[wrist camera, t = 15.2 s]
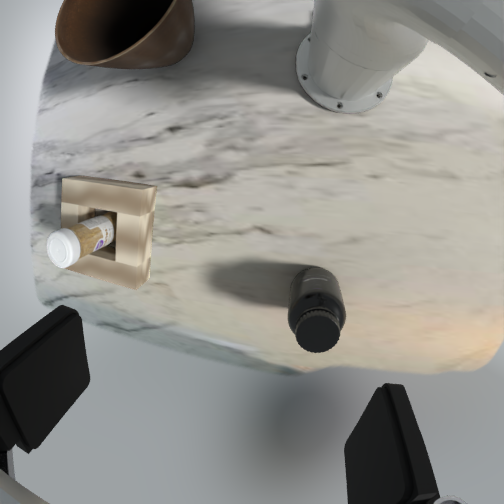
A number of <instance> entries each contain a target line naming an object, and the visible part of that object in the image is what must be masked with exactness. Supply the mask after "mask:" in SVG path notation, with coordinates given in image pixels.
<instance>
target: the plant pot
mask: <svg viewBox="0 0 504 504" xmlns="http://www.w3.org/2000/svg"><path fill="white" fill-rule="evenodd" d="M55 27H56V28H55V38H56V43H57V46H58V49H59V50H60V52H61V53H62V55H63V56H64V57H65V58H66V59H68V60H69V61H71V62H73V63H76V64H81V65H90V66H98V67H106V68H118V69H149V68H158V67H164V66H169V65H172V64H175V63H177V62H179V61H180V60H182V59H183V58H184V57H185V56H186V55H187V54H188V52H189V51H190V49H191V47H192V44H193V39H194V27H195V25H194V10H193V4H192V0H64V1H63V3H62V6H61V8H60V11H59V13H58V16H57V21H56V26H55Z"/></svg>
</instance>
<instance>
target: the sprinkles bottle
mask: <svg viewBox="0 0 504 504" xmlns="http://www.w3.org/2000/svg"><path fill="white" fill-rule="evenodd" d="M116 230H117V213H116V212H112V211H111V212H107V213H106V214H104V215H101V216H97V217H94V218H91V219H88V220H86V221H83V222H80V223H78V224H75V225H74V226H71V227H68V228H62V229H59V230H57V231H54V232H52V233H51V234H50V235H49V237H48V239H47V245H46V246H47V253H48V256H49V258H50V260H51V261H52V262H53V263H54V264H55V265H56V266H57V267H60V268H66V267H69V266H71V265H73V264H74V263H76V262H77V261H78V259H80V258H82V257H84V256H86V255H88V254H90V253H92V252H94V251H96V250H98V249H100V248H102V247H104V246H106V245H108V244H109V243H111V242H113V241H116Z"/></svg>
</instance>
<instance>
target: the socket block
mask: <svg viewBox="0 0 504 504" xmlns="http://www.w3.org/2000/svg"><path fill="white" fill-rule="evenodd" d="M156 190H157V186H153V185H146V184H139V183H133V182H126V181H119V180H111V179H104V178H96V177H88V176H74V177H68V178H62V199H61V229H62V228H68V227H71V226H74V225H75V224H78V223H80V222H83V221H86V220H88V219H91V218H94V217H95V208H97V209H102V210H107V211H113V212H117V230H116V248H112V247H108V246H104V247H102V248H100V249H98V250H96V251H94V252H92V253H90V254H88V255H86V256H84V257H82V258H80V259H78V261H77V262H76V263H74V264H73V265H71V266H69V267H66V268H65V269H68V270H71V271H74V272H78V273H81V274H84V275H87V276H90V277H94V278H97V279H100V280H103V281H107V282H110V283H114V284H117V285H120V286H124V287H127V288H131V289H134V290H137V289H138V288H139V287H140V286H141V285H143V284H144V283H145V282H146V281H147V280H148V279H149V278H150V261H151V245H152V232H153V220H154V209H155V200H156Z"/></svg>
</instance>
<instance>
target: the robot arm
mask: <svg viewBox="0 0 504 504" xmlns="http://www.w3.org/2000/svg"><path fill="white" fill-rule="evenodd" d="M428 40H430V41H432V42H433V43H435V44H438V45H439V46H441V47H442V48H444V49H445V50H447V51H448V52H450V53H451V54H453V55H454V56H455V57H457V58H458V59H460V60H461V61H462V62H464V63H465V64H466V65H468V66H469V67H470V68H471V69H473V70H474V71H475V72H477V73H478V74H479V75H480V76H482V77H483V78H484V79H485V80H486V81H488V82H489V83H490V84H491V85H492V86H494V87H495V88H496V89H497V90H498V91H499V92H501V93H502V94H503V95H504V0H314V10H313V20H312V30H311V33H310V34H309V35H307V36H306V38H305V39H304V40H303V41H302V42H301V44H300V46H299V48H298V51H297V54H296V64H295V65H296V73H297V76H298V80H299V82H300V84H301V86H302V87H303V89H304V90H305V92H306V93H307V94H308V95H309V96H310V97H311V98H312V99H313V100H314V101H315V102H317V103H318V104H320V105H321V106H323V107H325V108H327V109H329V110H332V111H335V112H339V113H346V114H354V113H361V112H365V111H368V110H370V109H372V108H374V107H375V106H377V105H378V104H380V103H381V102H382V101H383V100H384V99H385V98H386V96H387V94H388V93H389V91H390V88H391V86H392V81H393V76H395V75H396V74H397V73H398V72H400V71H401V70H402V69H403V68H405V67H406V66H407V65H408V64H410V63H411V62H412V61H413V60H414V59H416V58H417V57H418V56H419V55H420V54H421V53H422V51H423V50H424V49H425V47H426V45H427V43H428ZM309 41H310V42H309ZM303 77H306V78H307V80H303ZM376 95H379V98H378V97H377V96H376ZM337 105H340V106H341V107H340V108H338V107H337ZM89 382H90V374H89V368H88V362H87V356H86V349H85V342H84V334H83V326H82V319H81V317H80V316H79V313H78V312H77V311H76V310H75V309H72V308H69V307H67V306H64V305H60V306H58V307H57V308H56V309H54V310H53V311H52V312H50V313H49V314H48V315H46V316H45V317H43V318H42V319H41V320H39V321H38V322H37V323H36V324H34V325H33V326H31V327H30V328H29V329H27V330H26V331H25V332H24V333H22V334H21V335H20V336H18V337H17V338H16V339H14V340H13V341H12V342H11V343H9V344H8V345H7V346H6V347H4V348H3V349H2V350H0V504H49V503H48V502H46V501H44V500H43V499H41V498H40V497H38V496H37V495H35V494H34V493H32V492H31V491H29V490H28V489H26V488H25V487H23V486H22V485H21V484H19V483H18V482H17V481H15V474H14V465H13V453H12V448H13V446H14V445H15V444H16V445H17V446H18V447H19V448H21V449H22V450H24V451H25V452H27V453H28V454H29V453H30V452H31V450H32V449H36V448H38V447H39V446H40V445H41V443H42V442H43V441H44V439H45V438H46V437H47V436H48V434H49V433H50V432H51V431H52V429H53V428H54V427H55V426H56V424H57V423H58V422H59V421H60V419H61V418H62V417H63V416H64V415H65V413H66V412H67V411H68V409H69V408H70V407H71V406H72V405H73V404H74V402H75V401H76V400H77V399H78V397H79V396H80V395H81V394H82V393H83V391H84V390H85V389H86V388H87V387H88V385H89ZM344 454H345V467H346V480H347V495H348V504H467V503H466V502H465V501H463V500H462V499H461V498H459V497H456V496H444V497H441V498H440V495H439V491H438V488H437V484H436V480H435V477H434V473H433V470H432V466H431V463H430V460H429V456H428V453H427V450H426V447H425V444H424V441H423V438H422V435H421V432H420V430H419V427H418V424H417V421H416V418H415V415H414V413H413V410H412V407H411V404H410V401H409V398H408V396H407V393H406V390H405V388H404V386H403V385H401V384H390V383H385V384H384V385H383V386H382V387H378V388H377V389H376V391H375V393H374V394H373V396H372V398H371V400H370V402H369V403H368V405H367V407H366V409H365V411H364V412H363V414H362V416H361V418H360V420H359V421H358V423H357V425H356V426H355V428H354V430H353V431H352V433H351V435H350V436H349V438H348V439H347V441H346V444H345V448H344Z"/></svg>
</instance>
